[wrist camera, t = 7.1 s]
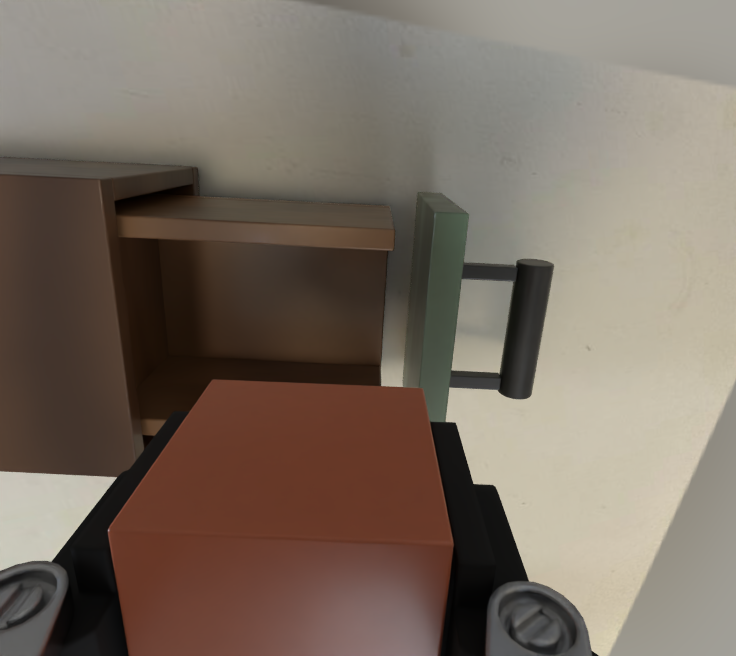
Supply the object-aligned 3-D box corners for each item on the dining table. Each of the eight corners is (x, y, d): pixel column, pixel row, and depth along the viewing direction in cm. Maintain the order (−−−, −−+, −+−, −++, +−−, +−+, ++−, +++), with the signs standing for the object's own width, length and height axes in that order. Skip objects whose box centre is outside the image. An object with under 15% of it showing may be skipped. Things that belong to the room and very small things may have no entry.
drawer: (528, 197, 25) (592, 219, 17) (499, 388, 28) (542, 472, 21) (145, 177, 25) (49, 192, 17) (164, 371, 28) (91, 450, 21)
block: (211, 378, 10) (104, 530, 6) (423, 386, 10) (454, 543, 6) (224, 546, 12) (144, 757, 8) (409, 554, 12) (427, 769, 8)
